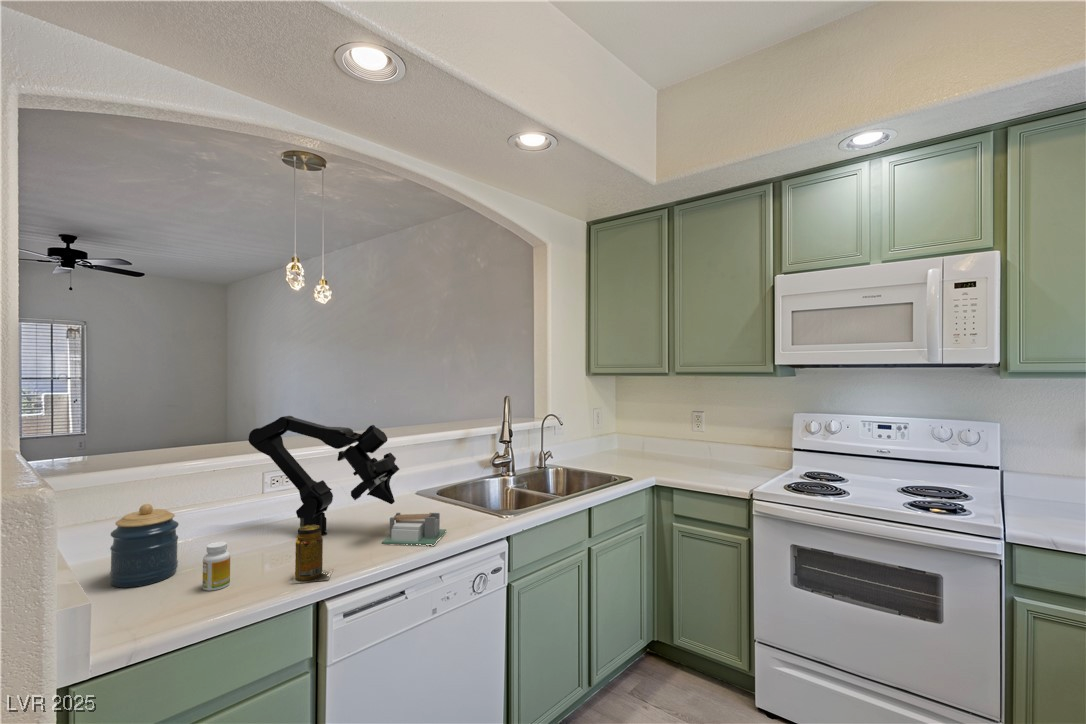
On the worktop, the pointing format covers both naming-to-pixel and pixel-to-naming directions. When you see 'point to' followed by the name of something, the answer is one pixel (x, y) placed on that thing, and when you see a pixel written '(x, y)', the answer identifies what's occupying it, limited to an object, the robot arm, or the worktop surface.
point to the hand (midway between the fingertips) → (393, 503)
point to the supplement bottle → (216, 567)
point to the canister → (144, 548)
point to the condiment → (309, 555)
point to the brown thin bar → (411, 516)
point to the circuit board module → (415, 531)
